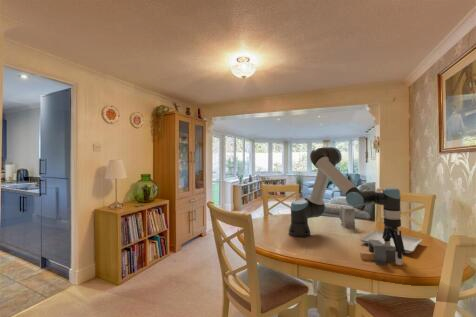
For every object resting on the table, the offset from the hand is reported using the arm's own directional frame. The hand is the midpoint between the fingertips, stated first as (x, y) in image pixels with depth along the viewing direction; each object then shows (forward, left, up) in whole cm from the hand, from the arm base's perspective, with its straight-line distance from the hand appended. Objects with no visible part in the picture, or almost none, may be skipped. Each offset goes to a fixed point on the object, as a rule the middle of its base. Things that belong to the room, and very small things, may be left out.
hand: (393, 258), depth 118 cm
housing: (-8, 0, -1) cm, 8 cm away
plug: (-6, 0, -1) cm, 6 cm away
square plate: (+9, +26, -2) cm, 28 cm away
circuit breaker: (-8, +65, -1) cm, 66 cm away
